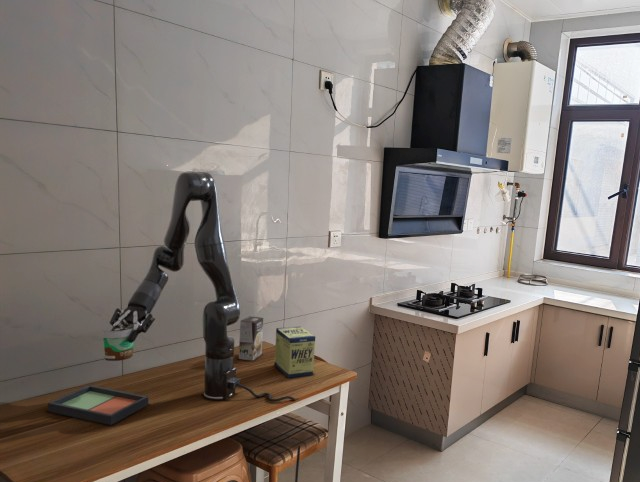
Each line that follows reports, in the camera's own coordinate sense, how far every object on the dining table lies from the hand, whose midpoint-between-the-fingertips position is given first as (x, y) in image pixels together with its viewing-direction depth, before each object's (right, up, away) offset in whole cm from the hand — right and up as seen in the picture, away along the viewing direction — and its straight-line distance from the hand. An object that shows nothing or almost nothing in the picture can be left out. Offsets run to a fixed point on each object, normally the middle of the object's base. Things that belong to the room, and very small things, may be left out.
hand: (120, 339), depth 175 cm
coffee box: (+27, -12, +52) cm, 60 cm away
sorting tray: (-3, -20, -6) cm, 22 cm away
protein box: (+47, -16, +41) cm, 65 cm away
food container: (0, -6, +3) cm, 7 cm away
